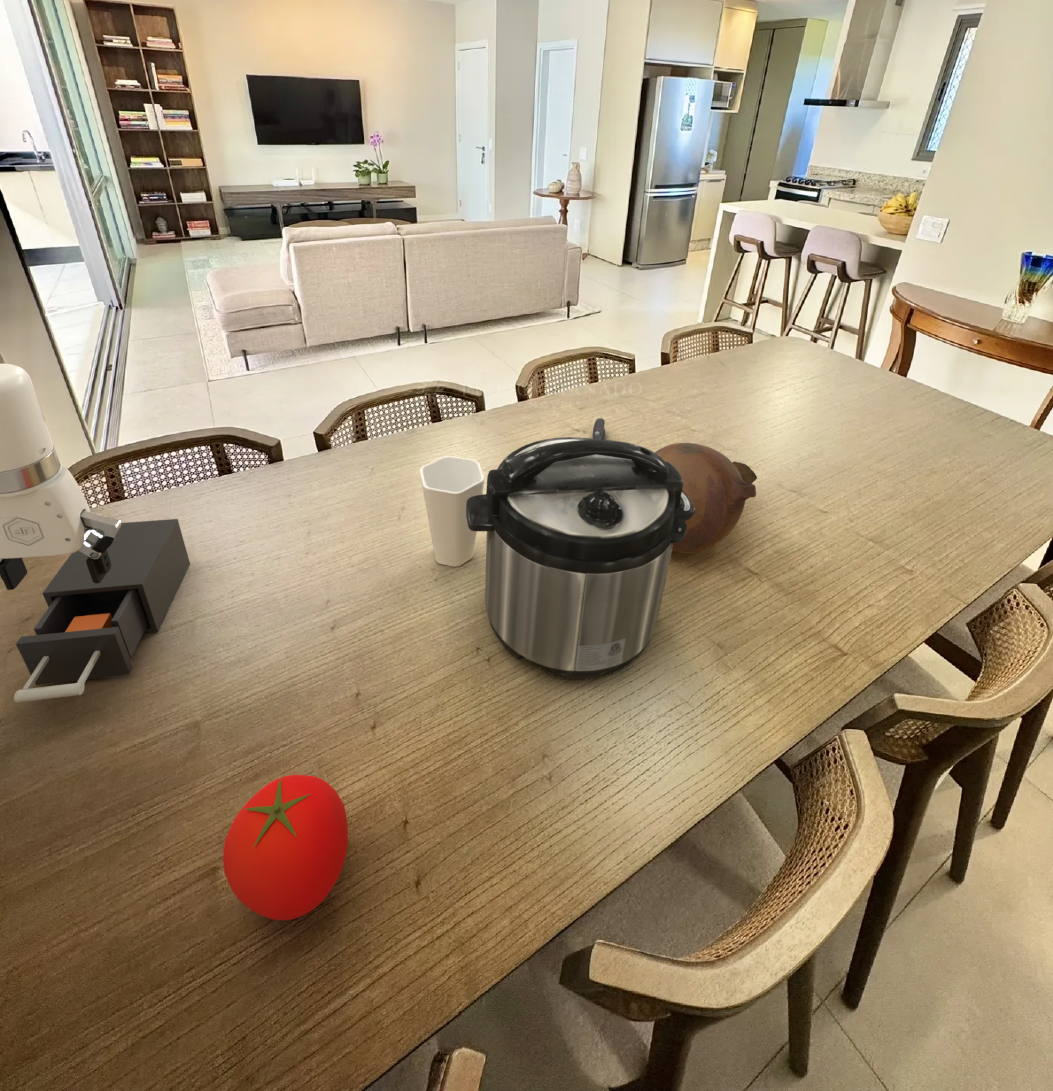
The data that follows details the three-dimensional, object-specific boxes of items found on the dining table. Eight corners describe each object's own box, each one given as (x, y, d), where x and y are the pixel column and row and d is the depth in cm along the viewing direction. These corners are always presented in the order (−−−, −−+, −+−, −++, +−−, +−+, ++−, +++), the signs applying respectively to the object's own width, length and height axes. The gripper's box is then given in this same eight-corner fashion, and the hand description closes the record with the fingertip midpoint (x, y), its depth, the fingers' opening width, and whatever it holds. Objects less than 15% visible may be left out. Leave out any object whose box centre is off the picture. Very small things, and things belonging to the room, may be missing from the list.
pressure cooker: (683, 585, 101) (717, 423, 87) (639, 727, 77) (676, 538, 63) (524, 531, 111) (531, 380, 97) (444, 641, 88) (438, 463, 74)
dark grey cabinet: (158, 632, 88) (142, 584, 84) (63, 642, 86) (42, 593, 81) (190, 563, 101) (177, 518, 96) (108, 570, 98) (92, 525, 94)
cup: (488, 569, 102) (489, 488, 95) (429, 580, 99) (425, 497, 92) (474, 528, 112) (474, 452, 104) (421, 536, 109) (417, 459, 101)
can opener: (606, 470, 131) (609, 449, 128) (575, 465, 132) (577, 444, 130) (614, 432, 146) (617, 412, 144) (587, 427, 148) (589, 408, 145)
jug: (673, 588, 100) (760, 541, 119) (726, 502, 91) (811, 466, 110) (594, 508, 112) (685, 477, 132) (634, 425, 103) (725, 405, 122)
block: (68, 666, 80) (57, 643, 78) (84, 639, 84) (74, 616, 82) (104, 662, 81) (95, 639, 79) (119, 635, 85) (110, 613, 83)
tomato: (373, 838, 65) (364, 767, 59) (318, 964, 55) (300, 893, 50) (283, 808, 67) (265, 736, 61) (215, 923, 58) (187, 851, 52)
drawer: (109, 717, 75) (91, 675, 71) (7, 729, 73) (-16, 687, 70) (166, 599, 92) (154, 561, 89) (85, 607, 90) (69, 568, 87)
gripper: (-93, 491, 64) (-36, 607, 71) (85, 483, 67) (122, 594, 75) (-46, 454, 70) (1, 563, 78) (114, 448, 74) (145, 553, 81)
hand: (60, 578), depth 76 cm, fingers open, 9 cm apart
